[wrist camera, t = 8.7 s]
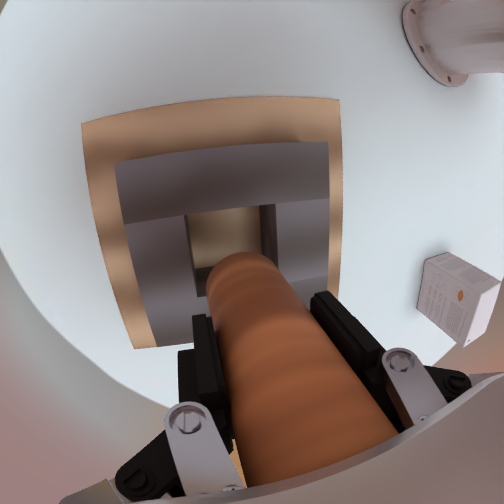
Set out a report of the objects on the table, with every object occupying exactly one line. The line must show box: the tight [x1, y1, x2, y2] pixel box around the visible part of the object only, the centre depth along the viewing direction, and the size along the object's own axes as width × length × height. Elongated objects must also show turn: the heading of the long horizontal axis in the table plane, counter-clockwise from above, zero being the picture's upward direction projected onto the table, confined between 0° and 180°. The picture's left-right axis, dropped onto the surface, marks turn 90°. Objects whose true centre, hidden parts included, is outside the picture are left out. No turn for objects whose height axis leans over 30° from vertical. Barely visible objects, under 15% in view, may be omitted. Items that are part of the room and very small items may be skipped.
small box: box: [417, 252, 501, 347], centre depth 28 cm, size 8×6×10 cm
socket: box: [81, 97, 343, 349], centre depth 21 cm, size 22×22×6 cm
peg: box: [206, 252, 399, 488], centre depth 9 cm, size 4×4×12 cm
